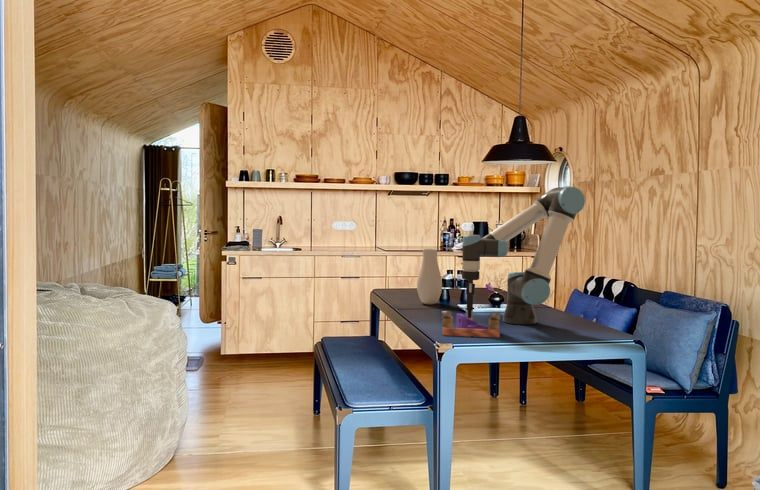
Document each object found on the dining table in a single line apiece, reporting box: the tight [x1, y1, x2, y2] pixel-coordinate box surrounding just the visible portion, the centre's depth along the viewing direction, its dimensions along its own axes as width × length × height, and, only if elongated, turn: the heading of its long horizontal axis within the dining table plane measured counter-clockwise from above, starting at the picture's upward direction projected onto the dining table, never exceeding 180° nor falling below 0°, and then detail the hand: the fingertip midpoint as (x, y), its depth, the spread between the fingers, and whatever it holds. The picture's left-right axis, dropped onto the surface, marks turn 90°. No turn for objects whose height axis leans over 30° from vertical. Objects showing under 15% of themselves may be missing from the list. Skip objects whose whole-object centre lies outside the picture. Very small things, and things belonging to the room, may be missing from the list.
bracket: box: [455, 313, 488, 329], centre depth 262 cm, size 12×7×7 cm, turn 103°
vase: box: [416, 248, 443, 305], centre depth 334 cm, size 14×14×30 cm
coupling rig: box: [441, 310, 501, 339], centre depth 253 cm, size 24×10×9 cm, turn 83°
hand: (469, 324), depth 265 cm, fingers closed
